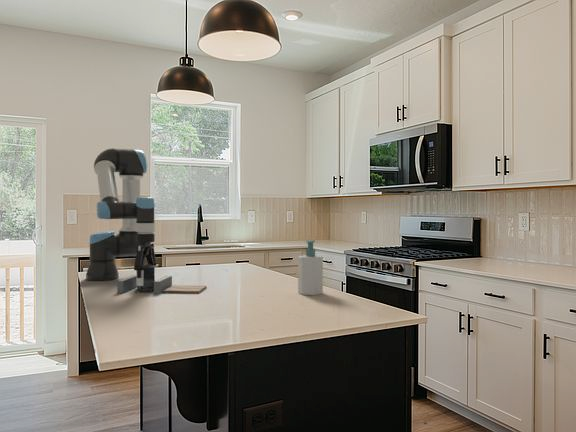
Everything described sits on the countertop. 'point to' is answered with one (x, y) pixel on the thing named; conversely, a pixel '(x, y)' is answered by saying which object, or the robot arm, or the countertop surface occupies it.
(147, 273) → the small box
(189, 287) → the walnut pad
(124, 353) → the countertop surface
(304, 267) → the soap bottle
